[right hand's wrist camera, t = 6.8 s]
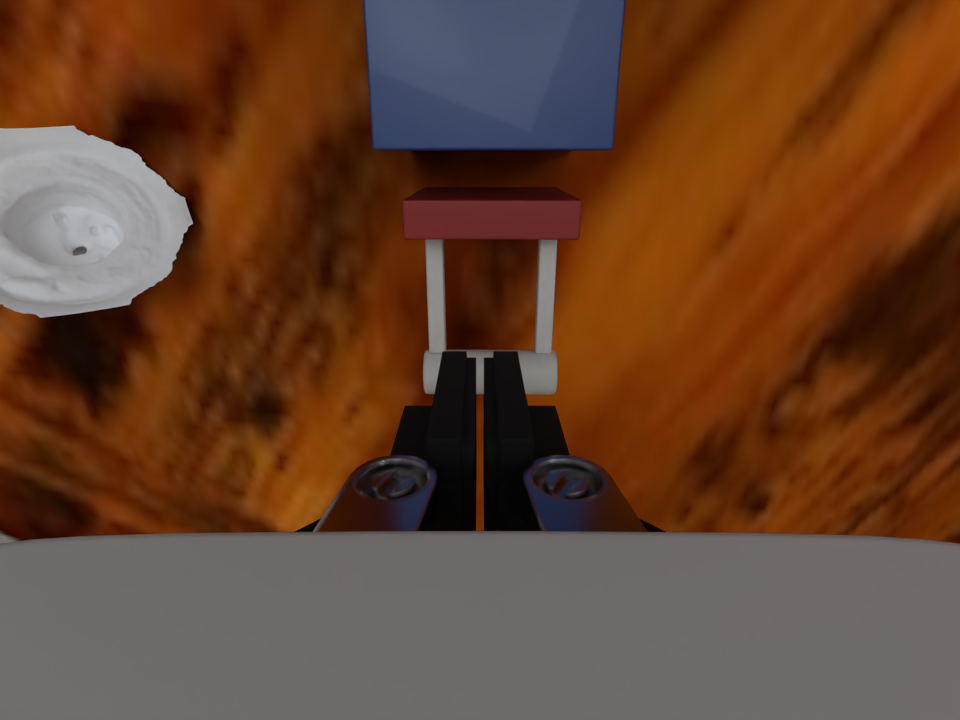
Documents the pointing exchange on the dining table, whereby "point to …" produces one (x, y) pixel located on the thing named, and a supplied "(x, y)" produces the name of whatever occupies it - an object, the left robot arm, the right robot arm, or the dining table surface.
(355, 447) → the dining table surface
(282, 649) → the right robot arm
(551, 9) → the cabinet
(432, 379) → the drawer
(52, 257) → the seashell
